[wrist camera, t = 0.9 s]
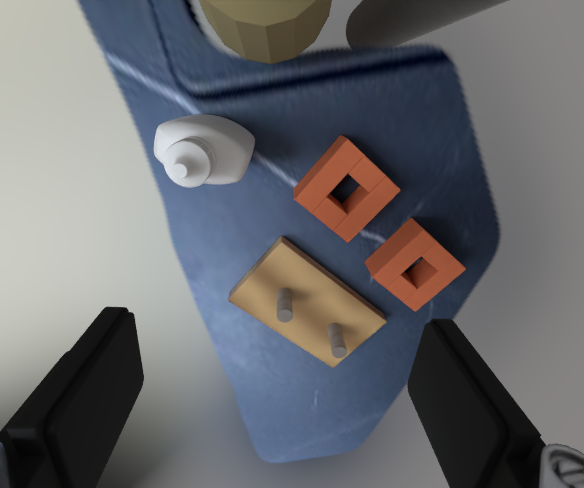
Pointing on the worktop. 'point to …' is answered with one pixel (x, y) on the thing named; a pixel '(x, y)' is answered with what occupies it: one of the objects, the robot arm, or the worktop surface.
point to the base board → (306, 303)
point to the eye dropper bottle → (203, 150)
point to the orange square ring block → (424, 275)
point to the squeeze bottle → (267, 26)
